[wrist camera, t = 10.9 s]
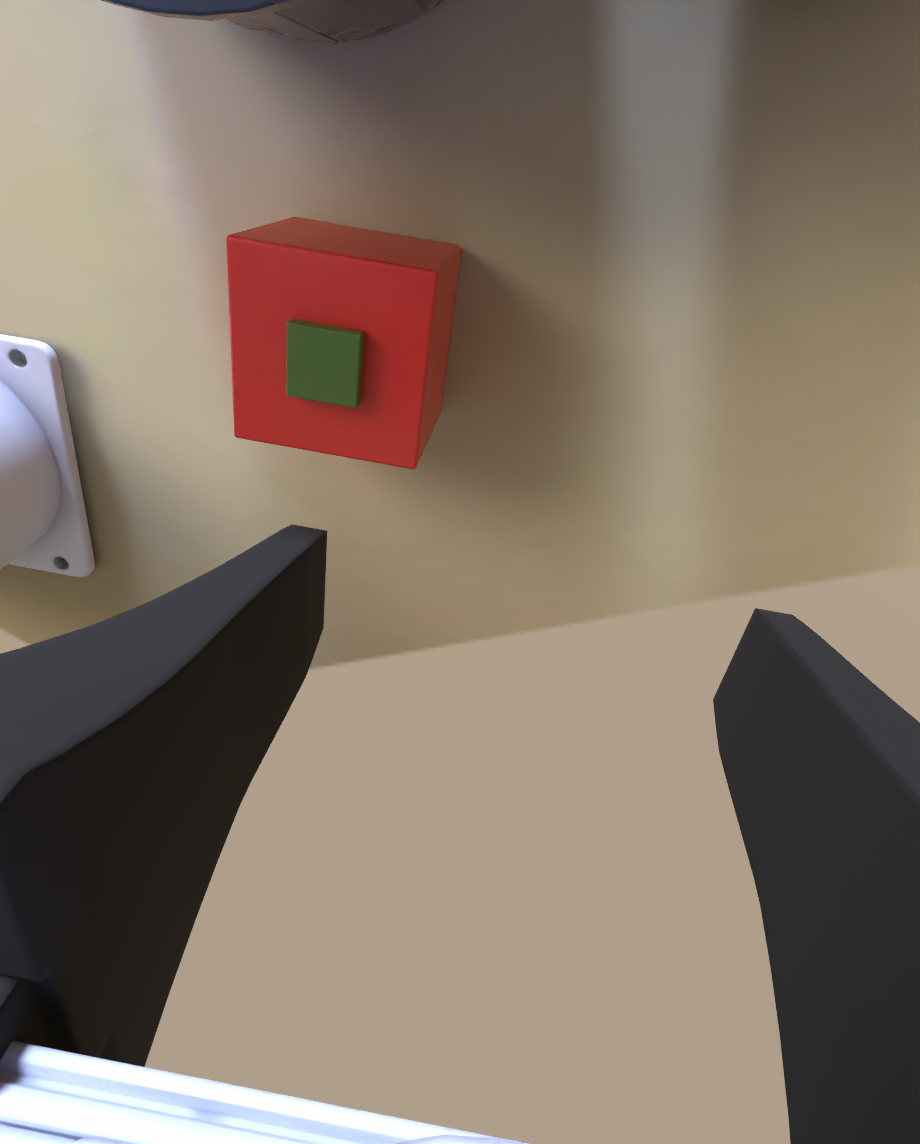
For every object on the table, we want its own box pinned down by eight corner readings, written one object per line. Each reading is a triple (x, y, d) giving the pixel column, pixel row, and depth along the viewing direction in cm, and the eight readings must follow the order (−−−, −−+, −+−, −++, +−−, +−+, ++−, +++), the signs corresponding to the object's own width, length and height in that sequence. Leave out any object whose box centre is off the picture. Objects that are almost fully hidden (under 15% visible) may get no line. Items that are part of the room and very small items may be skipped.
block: (290, 385, 20) (226, 444, 16) (291, 216, 17) (216, 236, 14) (440, 412, 20) (413, 478, 16) (462, 245, 17) (435, 274, 13)
